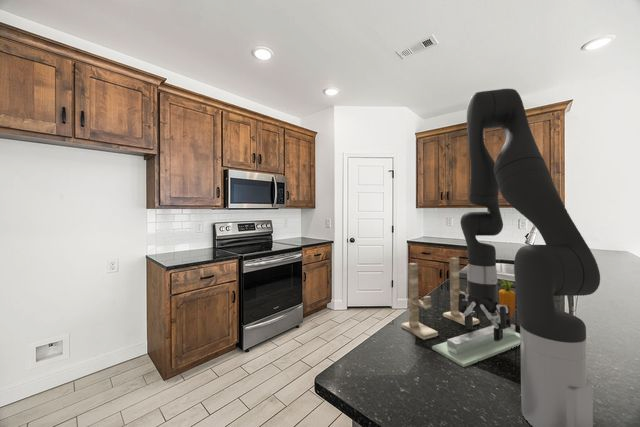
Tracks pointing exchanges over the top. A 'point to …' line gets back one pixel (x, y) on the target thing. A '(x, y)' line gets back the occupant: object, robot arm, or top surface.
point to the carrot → (507, 297)
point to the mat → (479, 350)
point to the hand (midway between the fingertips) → (482, 334)
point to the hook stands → (414, 303)
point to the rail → (476, 339)
